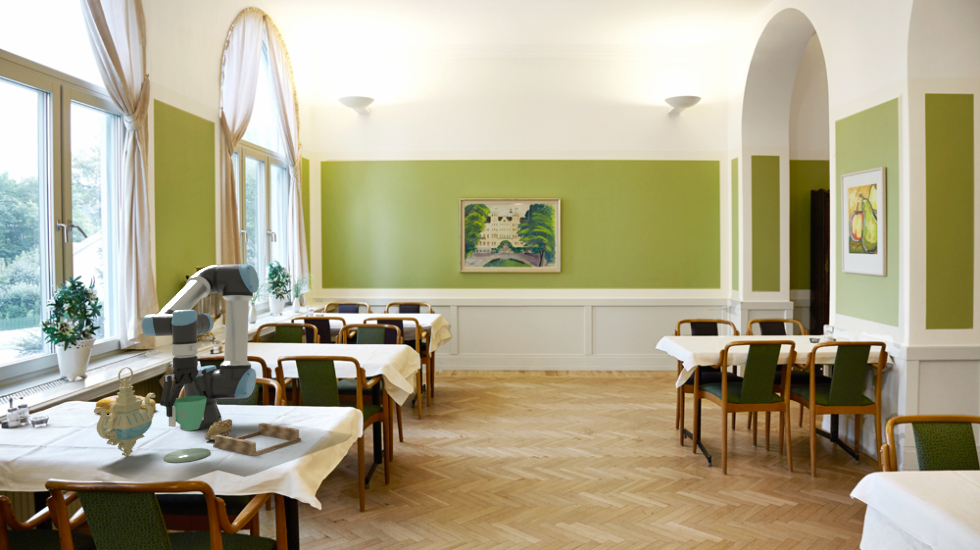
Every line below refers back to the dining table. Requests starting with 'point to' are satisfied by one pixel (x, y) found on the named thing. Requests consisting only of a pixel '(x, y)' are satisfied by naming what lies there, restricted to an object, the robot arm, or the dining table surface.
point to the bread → (106, 401)
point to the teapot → (125, 418)
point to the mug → (190, 411)
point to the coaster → (187, 455)
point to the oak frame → (250, 447)
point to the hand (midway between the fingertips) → (186, 422)
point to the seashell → (219, 429)
